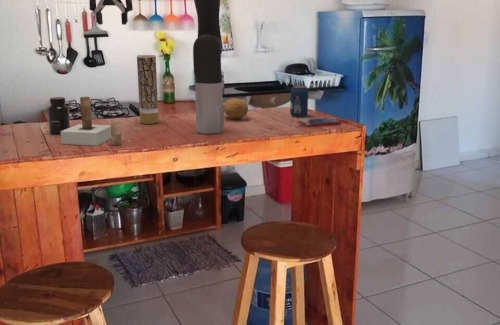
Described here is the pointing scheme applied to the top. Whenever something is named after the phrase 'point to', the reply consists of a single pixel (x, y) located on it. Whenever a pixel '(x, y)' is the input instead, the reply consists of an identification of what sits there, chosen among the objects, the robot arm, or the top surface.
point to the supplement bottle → (58, 115)
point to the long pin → (86, 113)
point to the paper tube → (147, 88)
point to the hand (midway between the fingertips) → (112, 24)
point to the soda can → (299, 101)
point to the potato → (235, 108)
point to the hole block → (86, 135)
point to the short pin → (115, 133)
